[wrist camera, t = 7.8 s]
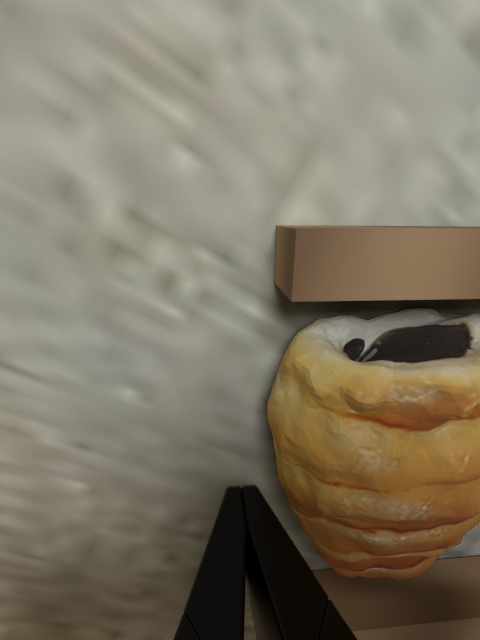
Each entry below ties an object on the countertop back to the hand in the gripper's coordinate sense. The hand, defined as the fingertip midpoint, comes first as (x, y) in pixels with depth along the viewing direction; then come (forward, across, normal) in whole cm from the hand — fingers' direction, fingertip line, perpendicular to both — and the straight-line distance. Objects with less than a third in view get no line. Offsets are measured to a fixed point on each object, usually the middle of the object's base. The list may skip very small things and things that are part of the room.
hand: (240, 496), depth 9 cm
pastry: (+2, -4, -1) cm, 5 cm away
